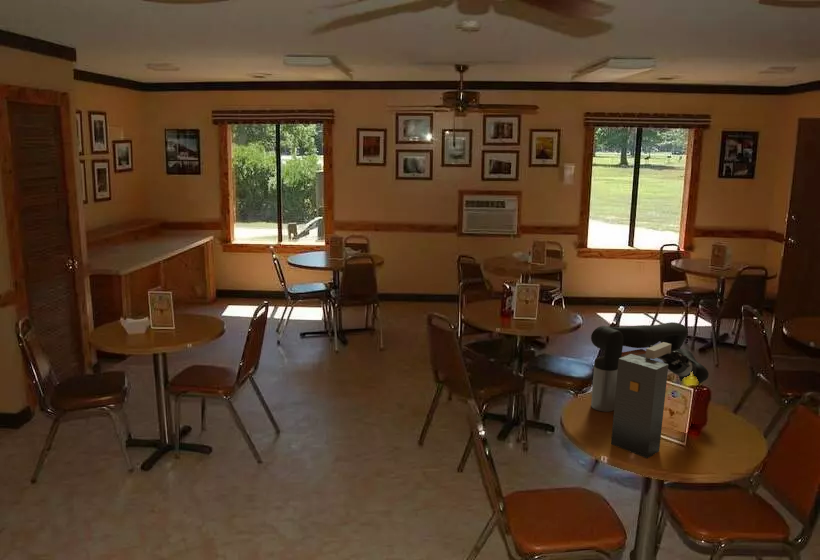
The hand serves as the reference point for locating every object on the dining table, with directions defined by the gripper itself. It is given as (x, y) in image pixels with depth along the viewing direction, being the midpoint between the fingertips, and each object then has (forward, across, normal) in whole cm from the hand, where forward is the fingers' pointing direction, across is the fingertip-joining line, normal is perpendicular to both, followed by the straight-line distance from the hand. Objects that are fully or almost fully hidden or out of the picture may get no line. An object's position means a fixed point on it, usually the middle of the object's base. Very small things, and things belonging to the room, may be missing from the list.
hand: (661, 350), depth 234 cm
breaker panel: (-6, 0, +35) cm, 35 cm away
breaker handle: (+1, 0, +2) cm, 2 cm away
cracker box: (-38, -24, +16) cm, 48 cm away
